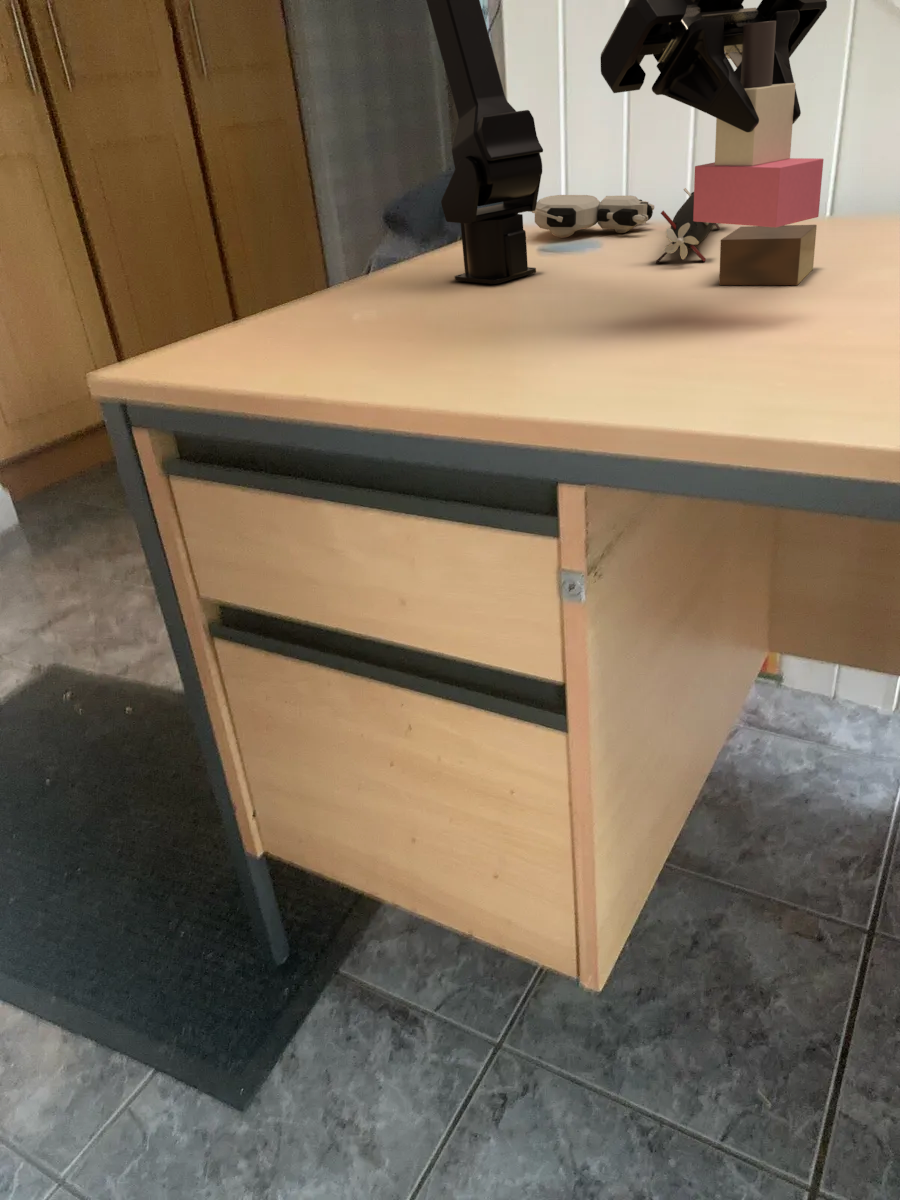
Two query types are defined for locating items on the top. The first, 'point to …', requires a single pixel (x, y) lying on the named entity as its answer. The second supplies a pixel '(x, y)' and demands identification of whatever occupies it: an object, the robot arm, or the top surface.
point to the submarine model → (685, 230)
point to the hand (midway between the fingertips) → (774, 123)
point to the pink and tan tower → (758, 152)
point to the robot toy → (590, 213)
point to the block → (767, 255)
